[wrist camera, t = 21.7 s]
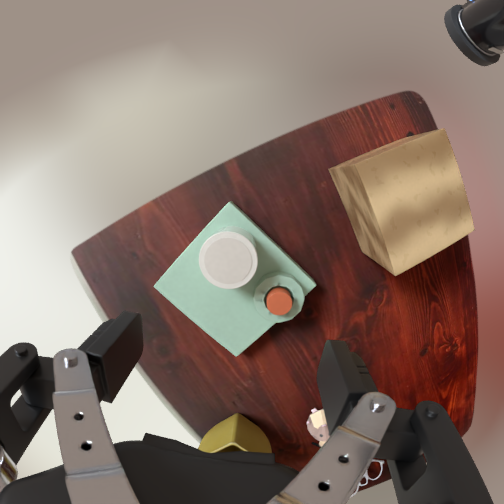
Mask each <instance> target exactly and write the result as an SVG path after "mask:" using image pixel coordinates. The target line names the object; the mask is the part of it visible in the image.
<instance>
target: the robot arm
mask: <svg viewBox="0 0 504 504" xmlns="http://www.w3.org/2000/svg"><path fill="white" fill-rule="evenodd" d="M460 9H461V10H460V11H459V12H458V14H457V21H458V24H459V27H460V29H461V31H462V32H463V34H464V36H465V37H466V38H467V40H468V41H469V42H470V43H471V44H472V46H473V47H474V48H476V49H477V50H478V51H479V52H481V53H482V54H484V55H486V56H493V55H495V54H497V53H498V54H502V53H504V52H503V50H504V0H467V3H465V4H464V5H463V6H461V7H460ZM142 351H143V329H142V316H141V314H139V313H135V312H130V311H123V312H122V313H121V314H120V315H119V316H118V317H117V318H116V319H110V320H108V321H106V322H104V323H102V325H100V326H99V327H98V329H97V330H96V331H94V333H93V334H92V335H90V336H89V338H87V340H85V342H84V343H83V344H82V345H81V346H80V347H79V348H78V349H65V350H61V351H59V352H58V353H57V354H56V355H55V356H54V358H50V357H42V356H38V353H37V349H36V347H35V346H34V345H32V344H30V343H18V344H15V345H13V346H11V347H10V348H9V349H8V350H7V351H6V352H5V353H4V354H2V355H1V356H0V504H346V503H347V501H348V500H349V498H350V497H351V495H352V494H353V492H354V491H355V489H356V487H357V486H358V484H359V483H360V481H361V479H362V478H363V476H364V474H365V472H366V471H367V469H368V467H369V466H370V464H371V462H372V460H373V458H379V459H386V460H387V463H388V466H389V470H390V473H391V477H392V480H393V484H394V488H395V491H396V496H397V500H398V503H399V504H493V501H492V499H491V497H490V494H489V492H488V490H487V488H486V486H485V484H484V482H483V479H482V477H481V475H480V473H479V471H478V469H477V467H476V465H475V463H474V461H473V459H472V457H471V455H470V453H469V451H468V450H467V448H466V446H465V444H464V442H463V440H462V438H461V436H460V435H459V433H458V431H457V429H456V427H455V426H454V424H453V422H452V420H451V419H450V417H449V415H448V413H447V412H446V410H445V409H444V408H443V407H442V406H441V405H440V404H438V403H436V402H433V401H422V402H420V403H418V404H417V406H416V408H415V409H414V410H408V409H402V408H397V407H396V404H395V402H394V401H393V400H392V399H391V398H390V397H389V396H387V395H385V394H383V393H379V392H378V390H377V388H376V386H375V384H374V382H373V380H372V378H371V376H370V374H369V372H368V370H367V368H366V366H365V364H364V362H363V360H362V358H361V357H359V356H358V355H357V354H356V353H355V352H350V351H349V349H348V347H347V345H346V342H345V341H340V340H327V341H326V343H325V346H324V350H323V353H322V357H321V360H320V364H319V367H318V371H317V384H318V388H319V392H320V396H321V400H322V405H323V409H324V413H325V418H326V422H327V426H328V431H329V435H330V437H329V438H328V440H327V441H326V442H325V443H324V445H323V446H322V447H321V448H320V450H319V451H318V452H317V453H316V454H315V456H314V457H313V458H312V459H311V460H310V461H309V463H308V464H307V465H306V466H305V467H304V468H303V469H302V470H301V472H298V471H297V470H295V469H293V468H291V467H289V466H286V465H283V464H281V463H277V462H275V453H261V452H249V451H234V452H216V453H208V452H204V451H201V450H199V449H196V448H194V447H191V446H188V445H186V444H184V443H181V442H179V441H177V440H173V439H168V438H164V437H160V436H156V435H152V434H148V433H145V436H144V438H143V440H142V441H124V442H119V443H115V444H113V442H112V440H111V437H110V434H109V431H108V429H107V426H106V423H105V419H104V417H103V414H102V410H101V407H100V402H101V401H102V400H103V401H106V402H109V403H112V402H113V400H114V399H115V397H116V395H117V394H118V392H119V390H120V389H121V387H122V386H123V384H124V382H125V381H126V379H127V377H128V376H129V374H130V373H131V371H132V369H133V368H134V367H135V365H136V363H137V362H138V360H139V359H140V357H141V355H142ZM19 389H20V391H21V393H22V395H21V396H20V397H19V398H18V400H17V401H16V402H15V403H14V405H13V406H12V407H11V406H10V403H11V399H12V397H13V396H14V395H15V393H16V392H17V391H18V390H19ZM52 409H54V413H55V420H56V427H57V433H58V439H59V445H60V449H61V455H62V459H63V463H64V464H63V465H60V466H58V467H55V468H52V469H49V470H46V471H43V472H41V473H37V474H34V475H31V476H28V477H25V478H21V479H18V480H16V479H17V474H18V471H17V467H16V465H17V463H18V461H19V460H20V458H21V457H22V455H23V453H24V452H25V450H26V448H27V447H28V445H29V444H30V442H31V441H32V439H33V437H34V436H35V434H36V433H37V431H38V430H39V428H40V427H41V425H42V424H43V422H44V421H45V419H46V418H47V416H48V415H49V413H50V411H51V410H52ZM422 453H424V456H425V458H426V462H427V465H426V463H425V460H424V458H423V455H422Z"/></svg>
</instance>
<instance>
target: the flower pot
mask: <svg viewBox="0 0 504 504" xmlns="http://www.w3.org/2000/svg"><path fill="white" fill-rule="evenodd" d="M198 449H199V450H201V451H204V452H208V453H216V452H234V451H249V452H261V453H272V450H271V446H270V443H269V440H268V438H267V437H266V435H265V434H264V433H263V431H262V430H261V429H260V428H259V427H258V426H257V425H255V424H254V423H252V422H251V421H249V420H248V419H246V418H245V417H244V416H242V415H241V414H239V413H236V414H234V415H232V416H231V417H229V418H227V419H226V420H224V421H222V422H220V423H218V424H217V425H216V426H214V427H213V428H212V429H211V430H209V431H208V433H207V434H206V435H205V436H204V438H203V439H202V441H201V443H200V446H199V448H198Z"/></svg>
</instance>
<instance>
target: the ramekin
mask: <svg viewBox="0 0 504 504" xmlns="http://www.w3.org/2000/svg"><path fill="white" fill-rule="evenodd" d="M199 266H200V269H201V272H202V274H203V275H204V277H205V278H206V279H207V280H208V281H209V282H210V283H211V284H213V285H215V286H217V287H219V288H223V289H235V288H239V287H241V286H244V285H245V284H247V283H248V282H249V281H250V280H251V279H252V278H253V276H254V275H255V273H256V270H257V266H258V246H257V243H256V241H255V239H254V237H253V236H252V235H251V234H250V233H249V232H248V231H246V230H245V229H243V228H240V227H237V226H226V227H222V228H220V229H218V230H216V231H215V232H214V233H213V234H212V235H211V236H210V237H209V238H208V239H207V240H206V241H205V243H204V244H203V246H202V247H201V250H200V253H199Z"/></svg>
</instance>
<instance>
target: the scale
mask: <svg viewBox="0 0 504 504" xmlns="http://www.w3.org/2000/svg"><path fill="white" fill-rule="evenodd" d="M226 226H237V227H240V228H243V229H245V230H246V231H248V232H249V233H250V234H251V235H252V236H253V237H254V239H255V241H256V243H257V246H258V266H257V270H256V273H255V275H254V276H253V278H252V279H251V280H250V281H249V282H248V283H247V284H245V285H244V286H241V287H239V288H235V289H223V288H219V287H217V286H215V285H213V284H211V283H210V282H209V281H208V280H207V279H206V278H205V277H204V275H203V274H202V272H201V269H200V266H199V253H200V250H201V247H202V246H203V244H204V243H205V241H206V240H207V239H208V238H209V237H210V236H211V235H212V234H213V233H214V232H215V231H216V230H218V229H220V228H222V227H226ZM315 286H316V283H315V281H314V280H313V279H312V278H311V277H310V276H309V275H308V274H307V273H306V272H305V271H304V270H303V269H302V268H301V267H300V266H299V265H298V264H297V263H296V262H295V261H294V260H293V259H292V258H291V257H290V256H289V255H288V254H287V253H286V252H285V251H284V250H283V249H282V248H280V247H279V246H278V245H277V244H276V243H275V242H274V241H273V240H272V239H271V238H270V237H269V236H268V235H267V234H266V233H265V232H264V231H263V230H262V229H261V228H260V227H259V226H258V225H256V224H255V223H254V222H253V221H252V220H251V219H250V218H249V217H248V216H247V215H246V214H245V213H244V212H243V211H242V210H241V209H240V208H238V207H237V206H236V205H235V204H234V203H233V202H232V201H230V202H228V203H227V205H226V206H225V207H224V208H223V209H222V210H221V211H220V212H219V213H218V214H217V215H216V216H215V217H214V219H213V220H212V221H211V222H210V223H209V224H208V225H207V226H206V227H205V228H204V229H203V231H202V232H201V233H200V234H199V235H198V236H197V237H196V238H195V239H194V240H193V242H192V243H191V244H190V245H189V246H188V247H187V248H186V249H185V251H184V252H183V253H182V254H181V255H180V256H179V257H178V258H177V260H176V261H175V262H174V263H173V264H172V265H171V266H170V268H169V269H168V270H167V271H166V272H165V273H164V275H163V276H162V277H161V278H160V279H159V280H158V282H157V283H156V284H155V285H154V287H155V288H156V289H157V290H158V291H159V292H160V293H161V294H162V295H164V296H165V297H166V298H167V299H168V300H169V301H170V302H171V303H173V304H174V305H175V306H176V307H177V308H178V309H179V310H180V311H182V312H183V313H184V314H185V315H186V316H187V317H189V318H190V319H191V320H192V321H193V322H194V323H196V324H197V325H198V326H199V327H200V328H201V329H203V330H204V331H205V332H206V333H207V334H209V335H210V336H211V337H212V338H214V339H215V340H216V341H217V342H218V343H220V344H221V345H222V346H223V347H225V348H226V349H227V350H229V351H230V352H231V353H232V354H234V355H235V356H236V357H237V356H238V355H239V354H240V353H242V352H243V351H244V350H245V349H246V348H247V347H249V346H250V345H251V344H252V343H253V342H254V341H256V340H257V339H258V338H259V337H260V336H261V335H263V334H264V333H265V332H266V331H267V330H268V329H269V328H270V327H272V326H273V325H274V324H275V323H276V322H277V323H280V322H284V321H288V320H291V319H292V318H294V317H295V316H296V315H297V314H298V313H299V312H300V311H301V309H302V306H303V303H304V299H305V298H304V297H305V296H306V295H307V294H308V293H309V292H310V291H311V290H312V289H313V288H314V287H315ZM278 287H281V288H284V289H286V290H287V291H288V292H289V293H290V295H291V299H292V307H291V309H290V311H289V312H288V313H286V314H284V315H274V314H272V313H271V312H270V311H269V310H268V308H267V300H266V299H267V295H268V293H269V292H270V291H271V290H272V289H274V288H278Z"/></svg>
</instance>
